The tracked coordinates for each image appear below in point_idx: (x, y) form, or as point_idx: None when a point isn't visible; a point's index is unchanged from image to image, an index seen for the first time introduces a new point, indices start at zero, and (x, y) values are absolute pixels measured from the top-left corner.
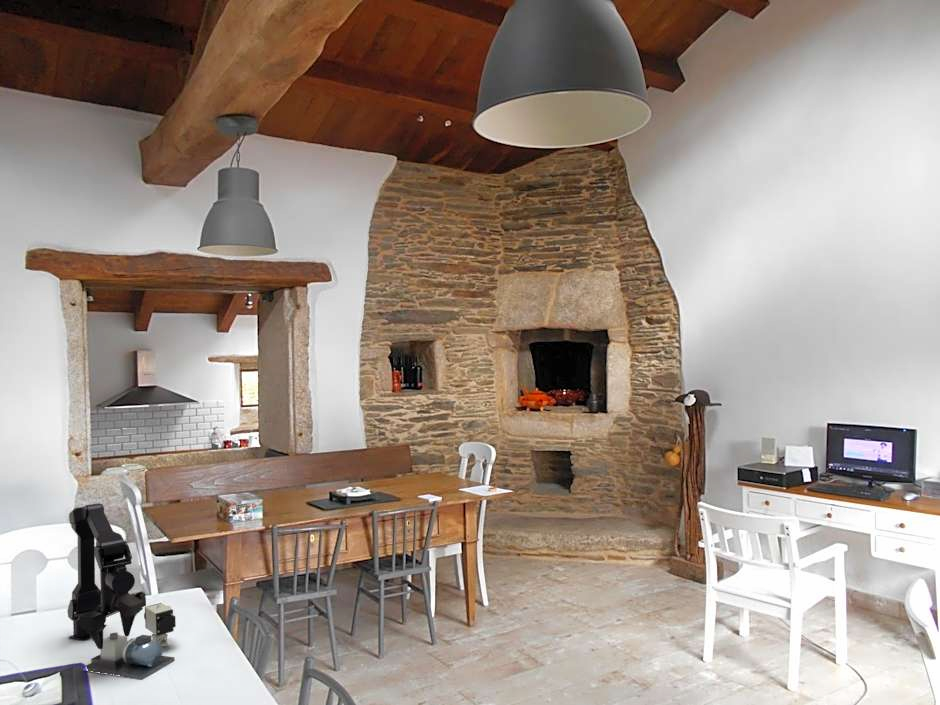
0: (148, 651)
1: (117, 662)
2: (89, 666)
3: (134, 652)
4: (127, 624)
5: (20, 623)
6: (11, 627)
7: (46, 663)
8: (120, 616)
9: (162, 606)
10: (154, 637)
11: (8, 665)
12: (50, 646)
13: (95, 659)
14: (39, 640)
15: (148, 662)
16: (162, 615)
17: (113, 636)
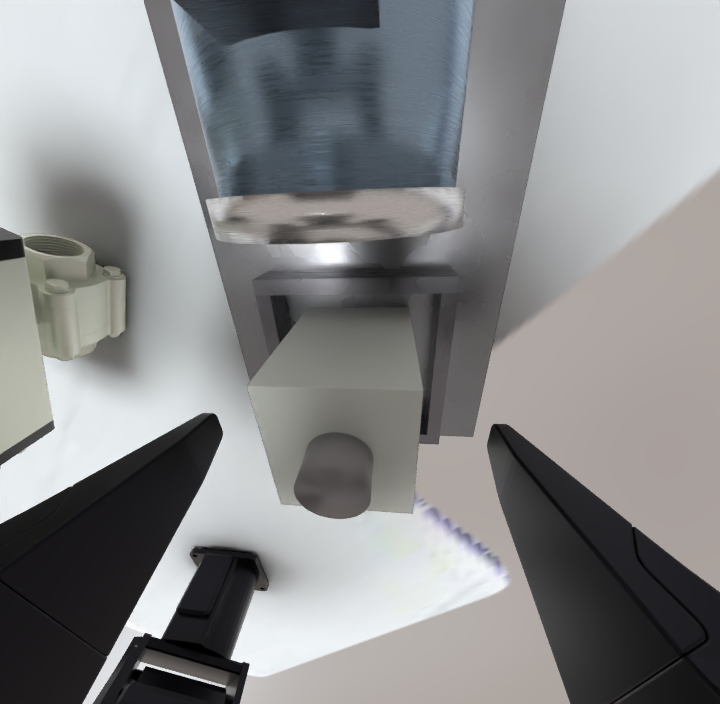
0: None
1: (435, 273)
2: (458, 415)
3: None
4: (132, 510)
5: (266, 662)
6: (287, 664)
7: (427, 550)
8: (102, 664)
9: None
10: (68, 314)
11: (459, 605)
12: (326, 591)
13: (441, 421)
14: (310, 618)
15: None
16: None
17: (361, 466)
